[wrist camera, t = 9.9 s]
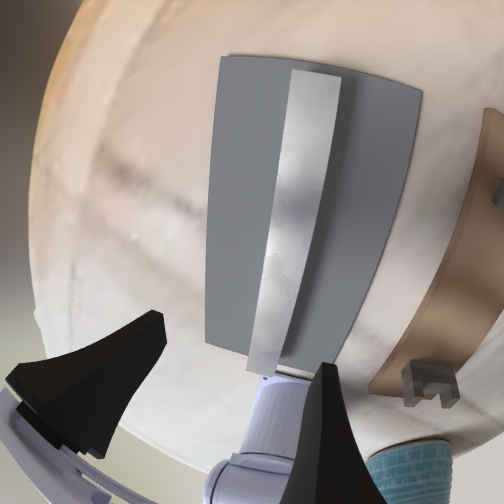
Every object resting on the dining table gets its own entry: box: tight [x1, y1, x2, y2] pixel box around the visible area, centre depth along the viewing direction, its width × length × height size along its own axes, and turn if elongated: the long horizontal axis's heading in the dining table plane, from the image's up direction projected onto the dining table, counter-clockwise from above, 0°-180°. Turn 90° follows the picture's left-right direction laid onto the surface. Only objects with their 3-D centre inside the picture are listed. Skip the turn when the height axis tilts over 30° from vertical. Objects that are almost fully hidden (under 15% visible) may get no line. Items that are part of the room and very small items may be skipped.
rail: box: [246, 69, 341, 378], centre depth 17 cm, size 22×2×2 cm, turn 174°
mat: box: [205, 56, 421, 373], centre depth 18 cm, size 24×12×1 cm, turn 174°
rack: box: [369, 108, 504, 408], centre depth 14 cm, size 26×8×5 cm, turn 174°
